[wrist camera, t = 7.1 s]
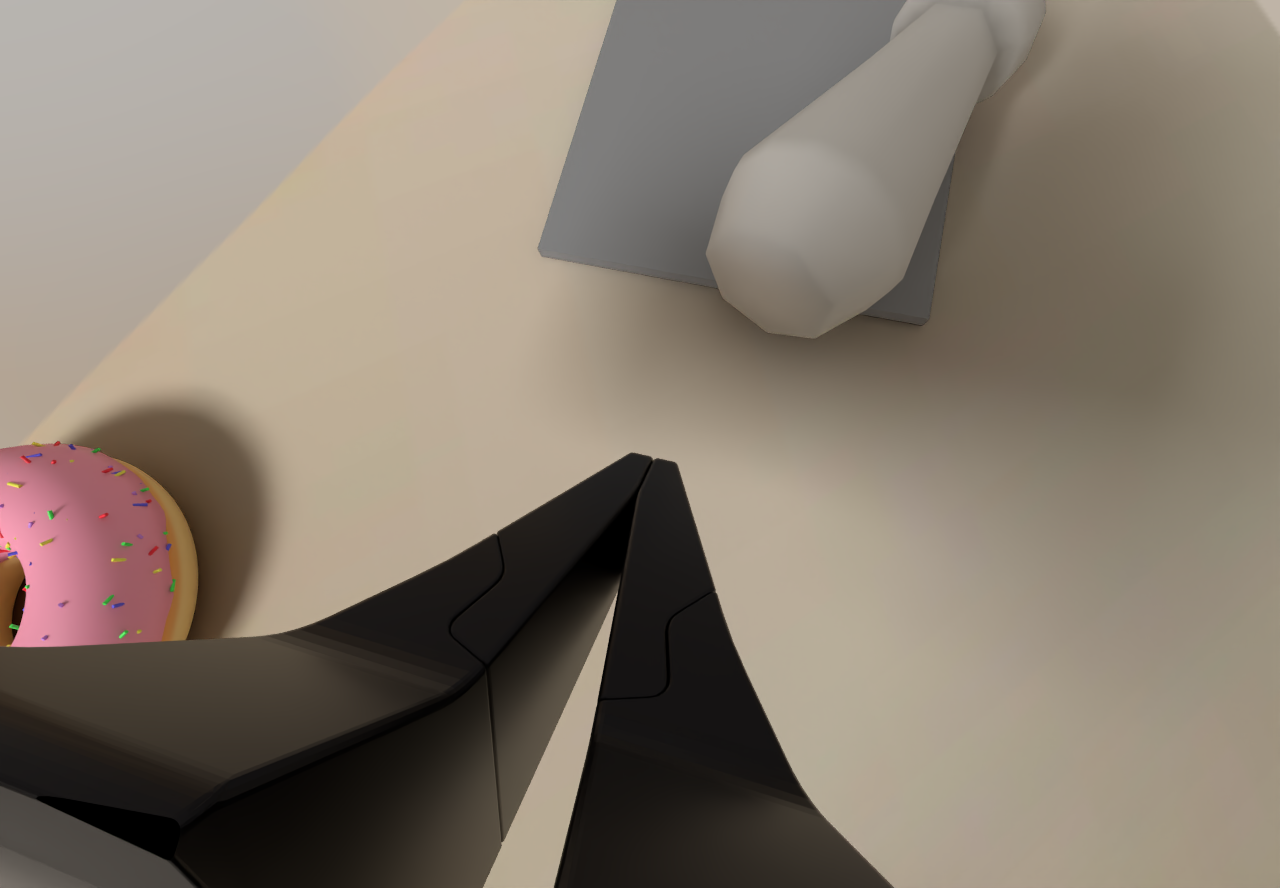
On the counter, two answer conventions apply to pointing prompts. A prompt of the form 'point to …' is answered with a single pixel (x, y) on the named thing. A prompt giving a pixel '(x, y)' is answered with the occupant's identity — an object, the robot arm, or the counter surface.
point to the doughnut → (91, 551)
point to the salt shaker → (861, 168)
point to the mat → (707, 130)
